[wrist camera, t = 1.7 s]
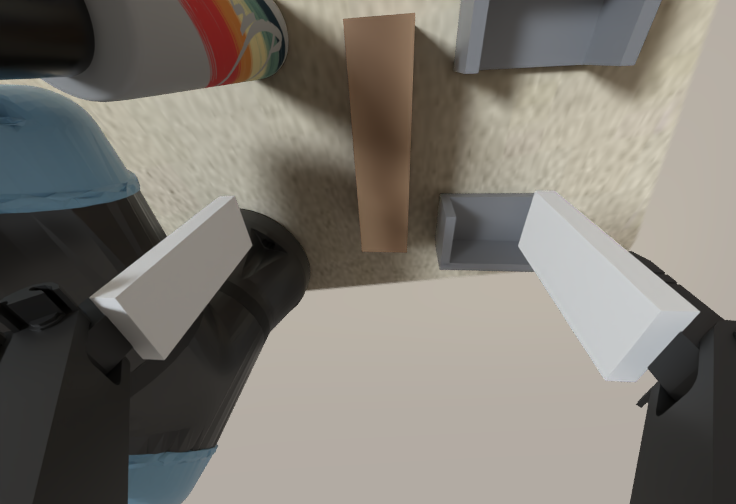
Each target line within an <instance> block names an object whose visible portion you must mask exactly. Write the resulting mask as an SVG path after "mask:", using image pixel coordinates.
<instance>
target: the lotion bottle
mask: <svg viewBox="0 0 736 504" xmlns="http://www.w3.org/2000/svg"><path fill="white" fill-rule="evenodd" d="M287 52H288V32H287V27H286V23H285V21H284V18H283V16H282V13H281V12H280V10H279V8H278V6H277V5H276V4H275V2H274V1H273V0H0V80H7V79H32V78H41V79H42V80H44V81H45V82H47V83H48V84H50V85H52V86H53V87H55V88H57V89H59V90H61V91H63V92H65V93H67V94H69V95H72V96H75V97H77V98H80V99H84V100H89V101H98V102H110V101H121V100H128V99H136V98H142V97H149V96H156V95H162V94H169V93H175V92H182V91H188V90H195V89H201V88H208V87H214V86H221V85H227V84H234V83H240V82H246V81H253V80H259V79H263V78H267V77H269V76H271V75H273V74H275V73H276V72H277V71H278V70H279V69H280V68H281V67H282V65H283V63H284V61H285V59H286V56H287Z"/></svg>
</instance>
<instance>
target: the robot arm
mask: <svg viewBox="0 0 736 504" xmlns="http://www.w3.org/2000/svg"><path fill="white" fill-rule="evenodd" d="M518 247H519V248H520V250H521V252H522V253H523V255H524V256H525V258H526V259H527V261H528V262H529V264H530V265H531V267H532V269H533V270H534V272H535V273H536V275H537V276H538V278H539V279H540V281H541V282H542V284H543V286H544V287H545V289H546V290H547V292H548V293H549V295H550V296H551V298H552V299H553V301H554V302H555V304H556V305H557V307H558V309H559V310H560V312H561V313H562V315H563V316H564V318H565V320H566V321H567V322H568V324H569V326H570V327H571V329H572V330H573V332H574V333H575V335H576V337H577V338H578V340H579V341H580V343H581V344H582V346H583V347H584V349H585V350H586V352H587V354H588V355H589V356H590V358H591V360H592V361H593V363H594V364H595V366H596V367H597V369H598V370H599V372H600V373H601V375H602V377H603V378H604V380H605V381H620V382H636V381H637V380H638V379H639V378H640V377H641V376H642V375H643V374H644V373H645V371H646V370H647V369H649V370H650V372H651V373H652V374H653V375H654V377H655V378H656V379H657V380H658V382H657V383H656V384H655V385H654V386H653V387H652V388H651V389H650V390H649V391H648V392H647V393H646V394H645V395H644V396H643V397H642V398H641V399H640V400H639V401H638V403H637V404H636V405H638V406H639V407H643V405H644V404H646V403H648V409H647V414H646V420H645V425H644V430H643V436H642V441H641V446H640V452H639V457H638V463H637V468H636V473H635V479H634V484H633V489H632V495H631V500H630V504H736V321H731V320H724V319H723V318H721V317H720V316H719V315H718V314H716V313H715V312H714V311H713V310H711V309H710V308H709V307H708V306H706V305H705V304H704V303H703V302H701V301H700V300H699V299H697V298H696V297H695V296H693V295H692V294H691V293H690V292H689V291H687V290H686V289H685V288H684V287H682V286H681V285H677V282H676V281H675V280H674V279H672V278H671V277H670V276H669V275H665V272H664V271H662V270H661V269H659V267H657V266H656V265H655V264H654V263H652V262H651V261H649V260H647V259H646V258H644V257H642V256H640V255H638V254H636V253H634V252H632V251H627V250H626V249H624V248H623V247H622V246H621V245H620V244H618V243H617V242H616V241H615V240H614V239H613V238H611V237H610V236H609V235H608V234H607V233H605V232H604V231H603V230H602V229H601V228H599V227H598V226H597V225H596V224H595V223H593V222H592V221H591V220H590V219H589V218H587V217H586V216H585V215H584V214H583V213H581V212H580V211H579V210H578V209H577V208H575V207H574V206H573V205H572V204H571V203H569V202H568V201H567V200H566V199H565V198H563V197H562V196H561V195H560V194H559V193H557V192H556V191H555V190H551V191H535V193H534V196H533V199H532V203H531V206H530V209H529V212H528V215H527V219H526V222H525V225H524V228H523V232H522V235H521V238H520V241H519V244H518ZM309 279H310V266H309V262H308V259H307V256H306V254H305V252H304V250H303V248H302V247H301V245H300V244H299V242H298V241H297V240H296V239H295V238H294V237H293V236H292V234H290V233H289V232H288V231H287V230H286V229H285V228H284V227H282V226H281V225H279V224H278V223H276V222H275V221H273V220H271V219H270V218H268V217H266V216H263V215H261V214H258V213H256V212H253V211H249V210H245V209H239V206H238V203H237V200H236V198H235V196H219V197H217V198H216V199H215V200H214V201H212V202H211V203H210V204H208V205H207V206H206V207H205V208H203V209H202V210H201V211H199V212H198V213H197V214H196V215H194V216H193V217H192V218H190V219H189V220H188V221H187V222H185V223H184V224H183V225H182V226H180V227H179V228H178V229H176V230H175V231H174V232H173V233H171V234H170V235H169V236H166V234H165V232H164V231H163V229H162V227H161V226H160V224H159V222H158V220H157V219H156V217H155V215H154V214H153V212H152V210H151V208H150V207H149V205H148V203H147V202H146V200H145V198H144V196H143V195H142V193H141V191H140V184H139V182H138V179H137V177H136V176H135V174H134V173H132V172H131V171H129V170H127V169H126V167H125V165H124V164H123V162H122V161H121V159H120V158H119V156H118V155H117V153H116V152H115V150H114V149H113V147H112V146H111V144H110V143H109V141H108V140H107V138H106V137H105V135H104V133H103V132H102V130H101V129H100V127H99V126H98V124H97V123H96V122H95V120H94V119H93V118H92V117H91V116H90V115H89V114H88V113H87V112H86V111H85V110H84V109H83V108H82V107H80V106H79V105H78V104H76V103H75V102H73V101H72V100H70V99H68V98H66V97H64V96H62V95H60V94H58V93H55V92H53V91H50V90H47V89H44V88H40V87H35V86H26V85H1V84H0V504H181V503H182V502H183V501H184V500H185V499H186V498H187V497H188V495H189V494H190V492H191V491H192V489H193V488H194V486H195V484H196V482H197V481H198V479H199V477H200V476H201V474H202V472H203V470H204V469H205V467H206V465H207V463H208V462H209V460H210V458H211V457H212V455H213V454H214V453H215V452H216V449H217V447H218V445H217V442H218V440H219V438H220V436H221V434H222V431H223V429H224V427H225V425H226V423H227V421H228V419H229V417H230V414H231V413H232V410H233V408H234V406H235V404H236V402H237V400H238V398H239V396H240V394H241V392H242V389H243V387H244V385H245V383H246V381H247V379H248V377H249V375H250V373H251V370H252V368H253V366H254V364H255V362H256V360H257V358H258V356H259V354H260V352H261V349H262V347H263V345H264V343H265V341H266V339H267V337H268V335H269V333H270V331H271V330H272V329H273V328H274V327H275V326H276V325H277V324H278V323H279V322H280V321H281V320H282V319H283V318H284V317H285V316H286V315H287V314H288V313H289V312H290V311H291V310H292V309H293V308H294V307H296V306H297V305H298V303H299V302H300V300H301V299H302V297H303V295H304V293H305V291H306V288H307V286H308V283H309Z"/></svg>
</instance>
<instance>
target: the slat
mask: <svg viewBox="0 0 736 504" xmlns="http://www.w3.org/2000/svg"><path fill="white" fill-rule="evenodd" d="M343 24H344V36H345V48H346V61H347V73H348V86H349V98H350V110H351V123H352V135H353V148H354V160H355V173H356V185H357V197H358V210H359V222H360V235H361V247H362V252H407V236H408V207H409V178H410V149H411V120H412V91H413V62H414V33H415V13H408V14H396V15H384V16H372V17H360V18H348V19H343Z"/></svg>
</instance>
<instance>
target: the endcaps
mask: <svg viewBox="0 0 736 504" xmlns="http://www.w3.org/2000/svg"><path fill="white" fill-rule="evenodd" d="M661 1H662V0H461V4H460V13H459V22H458V32H457V41H456V50H455V59H454V69H453V71H455V72H459V73H463V74H474V73H478V72H479V70H490V69H509V68H528V67H547V66H566V65H606V66H630V65H635V63H636V60H637V58H638V55H639V53H640V51H641V48H642V46H643V44H644V41H645V39H646V36H647V34H648V32H649V29H650V27H651V25H652V22H653V20H654V17H655V15H656V13H657V10H658V8H659V5H660V3H661ZM533 196H534V193H483V194H440V198H439V207H438V217H437V226H436V235H435V241H436V252H437V257H438V263H439V269H440V270H479V271H519V272H534V270H533V269H532V267H531V265H530V264H529V262H528V261H527V259H526V258H525V256H524V255H523V253H522V252H521V250H520V248H519V247H518V244H519V241H520V238H521V235H522V232H523V228H524V225H525V222H526V219H527V215H528V212H529V209H530V206H531V203H532V199H533Z"/></svg>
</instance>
